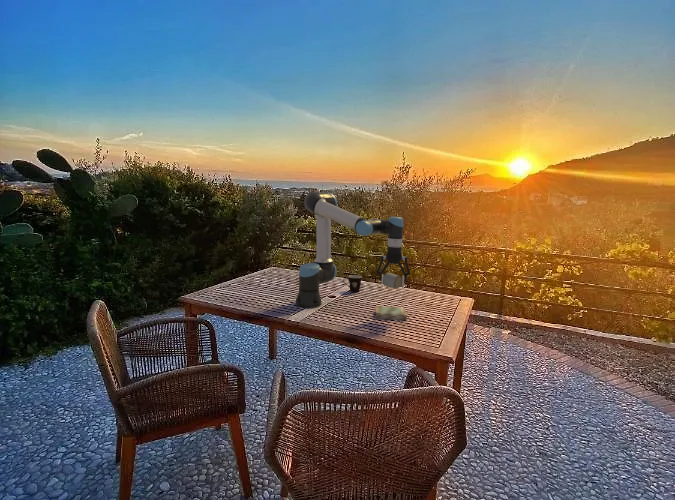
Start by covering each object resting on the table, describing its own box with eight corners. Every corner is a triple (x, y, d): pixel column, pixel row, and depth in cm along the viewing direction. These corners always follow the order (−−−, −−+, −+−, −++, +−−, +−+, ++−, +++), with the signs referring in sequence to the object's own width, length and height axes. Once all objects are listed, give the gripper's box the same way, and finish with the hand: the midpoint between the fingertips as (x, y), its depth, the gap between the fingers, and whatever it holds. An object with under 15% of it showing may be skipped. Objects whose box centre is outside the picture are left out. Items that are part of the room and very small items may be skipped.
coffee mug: (363, 291, 253) (364, 276, 251) (357, 293, 245) (357, 278, 244) (348, 288, 259) (349, 273, 257) (342, 290, 252) (342, 276, 250)
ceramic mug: (394, 290, 196) (395, 275, 195) (382, 287, 201) (383, 273, 200) (405, 287, 204) (407, 273, 202) (393, 284, 209) (394, 270, 208)
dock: (375, 318, 199) (376, 312, 198) (375, 311, 210) (376, 305, 210) (406, 320, 197) (406, 314, 197) (404, 313, 209) (404, 307, 209)
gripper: (372, 246, 195) (370, 287, 199) (417, 248, 193) (414, 290, 197) (372, 244, 203) (370, 284, 206) (415, 246, 201) (413, 286, 204)
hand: (392, 287), depth 201 cm, fingers closed on ceramic mug, 10 cm apart
